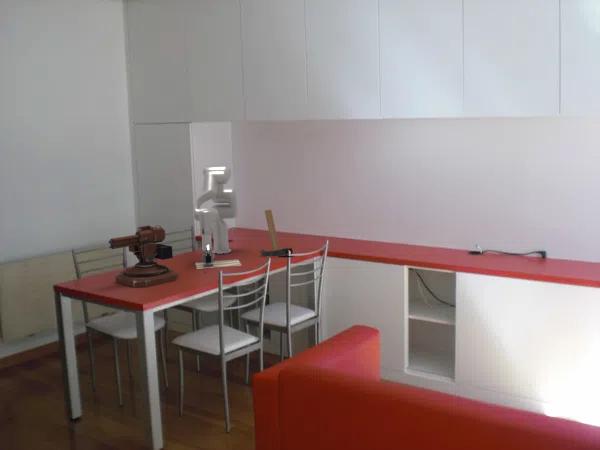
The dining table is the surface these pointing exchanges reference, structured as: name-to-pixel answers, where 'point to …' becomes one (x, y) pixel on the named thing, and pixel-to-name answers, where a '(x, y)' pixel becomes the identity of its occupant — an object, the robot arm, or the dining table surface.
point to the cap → (205, 258)
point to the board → (218, 264)
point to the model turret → (145, 258)
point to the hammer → (273, 239)
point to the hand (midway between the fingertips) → (208, 261)
